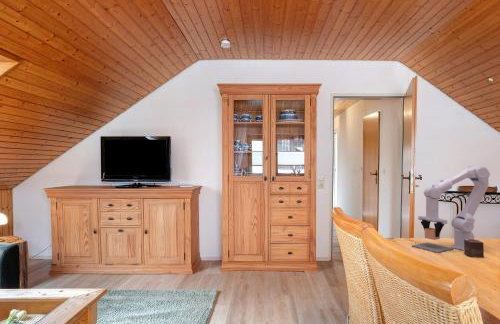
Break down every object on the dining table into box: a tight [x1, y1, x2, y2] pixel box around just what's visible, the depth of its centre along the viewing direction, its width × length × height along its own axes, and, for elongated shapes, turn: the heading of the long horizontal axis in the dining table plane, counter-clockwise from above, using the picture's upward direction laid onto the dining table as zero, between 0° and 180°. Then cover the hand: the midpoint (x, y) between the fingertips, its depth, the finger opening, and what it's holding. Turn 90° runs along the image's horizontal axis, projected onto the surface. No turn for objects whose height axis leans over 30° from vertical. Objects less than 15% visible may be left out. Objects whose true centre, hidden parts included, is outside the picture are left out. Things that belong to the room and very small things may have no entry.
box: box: [463, 239, 485, 258], centre depth 153 cm, size 6×6×7 cm
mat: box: [411, 242, 455, 254], centre depth 167 cm, size 14×14×1 cm
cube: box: [424, 227, 441, 241], centre depth 167 cm, size 5×5×5 cm
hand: (432, 235), depth 167 cm, fingers closed on cube, 5 cm apart
